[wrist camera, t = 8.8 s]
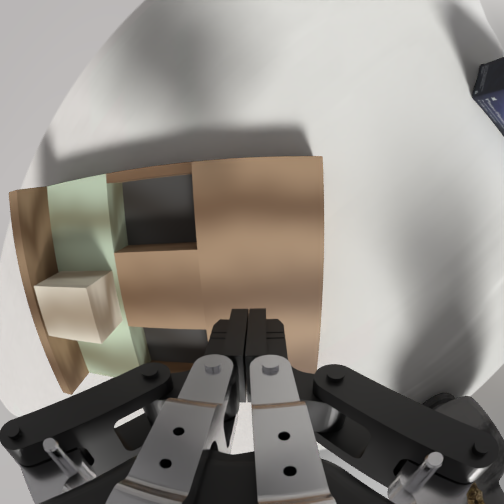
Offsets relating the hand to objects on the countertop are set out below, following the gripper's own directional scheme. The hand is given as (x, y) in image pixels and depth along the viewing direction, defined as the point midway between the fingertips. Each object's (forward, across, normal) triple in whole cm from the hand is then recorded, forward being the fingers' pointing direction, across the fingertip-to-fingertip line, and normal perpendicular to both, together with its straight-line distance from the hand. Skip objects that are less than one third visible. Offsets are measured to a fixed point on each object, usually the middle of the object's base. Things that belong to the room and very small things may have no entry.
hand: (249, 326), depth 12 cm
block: (+8, +14, +2) cm, 17 cm away
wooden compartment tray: (+11, +7, +2) cm, 13 cm away
